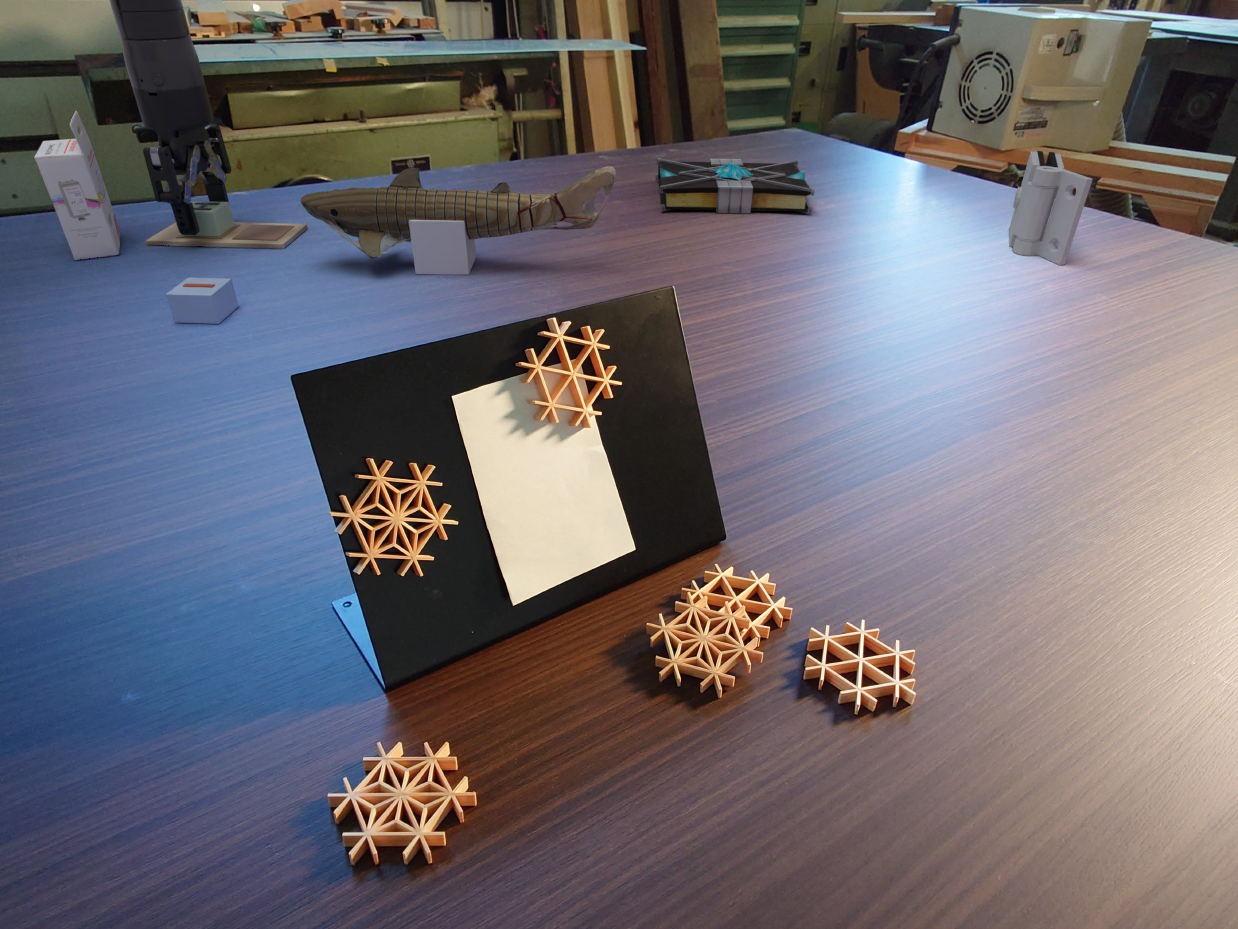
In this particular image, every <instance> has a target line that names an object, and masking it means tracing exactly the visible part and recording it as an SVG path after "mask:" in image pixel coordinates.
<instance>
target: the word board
mask: <svg viewBox="0 0 1238 929" xmlns="http://www.w3.org/2000/svg"><path fill="white" fill-rule="evenodd" d="M234 224H235V226H234V227H232V228H231V229H229V230H228V231H226V232H225V233H224V234H222V235H221V236H219V237H212V236H183V235H182V234H181V233H180V232H179V230H178V227H177V223H176V221H175V222H174V223H172V224H170V225H169V226H167V227H165V228H163V229H162V230H160V231H159V232H157V233H156V234H154V235H152V236H150V237H149V238H147V239H146V240H145V243H146V244H145V245H146V246H156V245H164V246H163V247H196V246H203V248H237V249H238V248H239V249H240V248H242V249H278V250H279V249H281V250H284V249H285V248H287V247H288V246H289V245H290V244H292V243H293V242H294V241H295V240H296V239H297V238H299V237H300V236H301V235H302V234H303V233H304V232H305V231H307V230H308V228H309V227H308V224H307V223H279V222H242V221H241V222H239V221H234ZM165 245H166V246H165ZM168 245H169V246H168ZM204 246H205V247H204Z"/></svg>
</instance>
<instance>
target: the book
mask: <svg viewBox="0 0 1238 929" xmlns="http://www.w3.org/2000/svg"><path fill="white" fill-rule="evenodd" d="M798 163H799V160H791V161H785V162H780V163H777V162H775V163H774V162H773V163H772V162H743V160H742V159H741V158H709V161H675V160H669V159H665V158H661V157H660V158H659V157H658V158H656V166H657V165H658V166H657V167H658V170H657V174H655V182H658V187H659V197H660V198H659V199H660V212H661V213H665V212H669V211H673V210H688V211H689V210H690V211H691V210H693V211H715V213H716V214H751V211H766V212H767V211H771V212H772V211H773V212H797V213H801V214H807V215H810V214H812V213H811V212H812V208H811V207H809V205H808V202H807V197H808V196H814V195H815V191H816V190H815V189H814V188H811V187H810V185H808V183H807V181H806V180H805V177H806V176H805V170H802V171H800V168H799V166H798Z"/></svg>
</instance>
